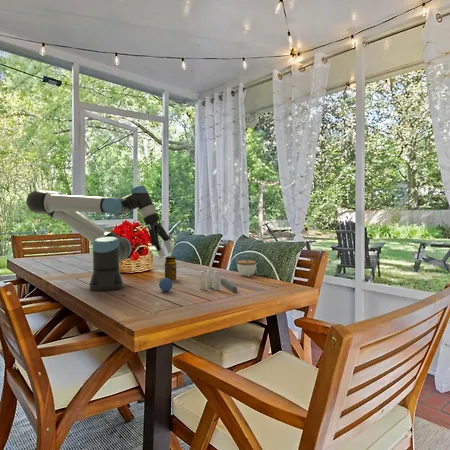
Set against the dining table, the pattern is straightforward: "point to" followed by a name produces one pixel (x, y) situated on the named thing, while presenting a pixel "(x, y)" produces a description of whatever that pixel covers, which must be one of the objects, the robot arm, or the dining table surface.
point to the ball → (165, 284)
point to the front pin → (202, 280)
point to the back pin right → (216, 280)
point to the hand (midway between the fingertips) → (167, 254)
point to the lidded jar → (246, 267)
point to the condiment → (170, 268)
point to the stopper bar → (229, 285)
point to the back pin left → (209, 278)
